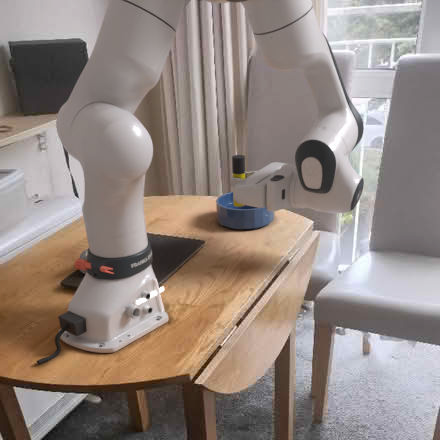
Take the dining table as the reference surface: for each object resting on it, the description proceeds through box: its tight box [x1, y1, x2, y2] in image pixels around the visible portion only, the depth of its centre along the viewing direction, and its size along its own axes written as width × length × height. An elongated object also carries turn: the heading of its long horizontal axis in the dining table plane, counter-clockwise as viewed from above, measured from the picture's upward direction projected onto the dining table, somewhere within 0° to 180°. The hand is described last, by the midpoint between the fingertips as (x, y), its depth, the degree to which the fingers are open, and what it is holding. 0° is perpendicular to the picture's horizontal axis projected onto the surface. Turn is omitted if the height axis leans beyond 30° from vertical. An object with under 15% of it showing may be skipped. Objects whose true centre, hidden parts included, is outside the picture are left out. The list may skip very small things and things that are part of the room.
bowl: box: [215, 191, 276, 231], centre depth 155 cm, size 15×15×6 cm
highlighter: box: [231, 154, 246, 207], centre depth 136 cm, size 3×3×11 cm
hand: (235, 178), depth 136 cm, fingers closed on highlighter, 3 cm apart
